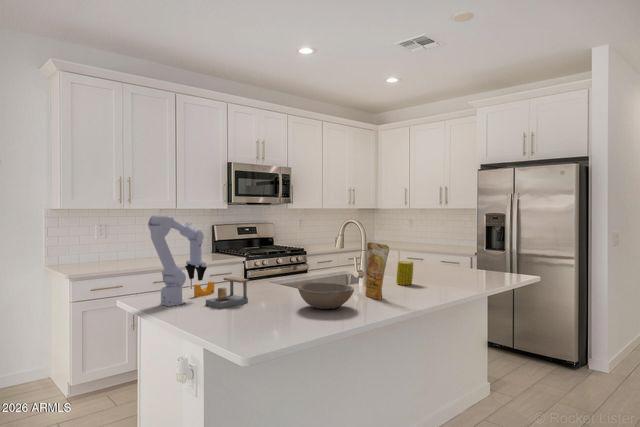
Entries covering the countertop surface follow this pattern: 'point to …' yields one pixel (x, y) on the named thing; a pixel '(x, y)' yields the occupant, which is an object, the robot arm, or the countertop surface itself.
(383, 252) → the pancake mix bag
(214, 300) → the socket plate
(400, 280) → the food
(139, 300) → the countertop surface
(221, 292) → the peg
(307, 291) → the bowl
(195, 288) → the pipe clamp
